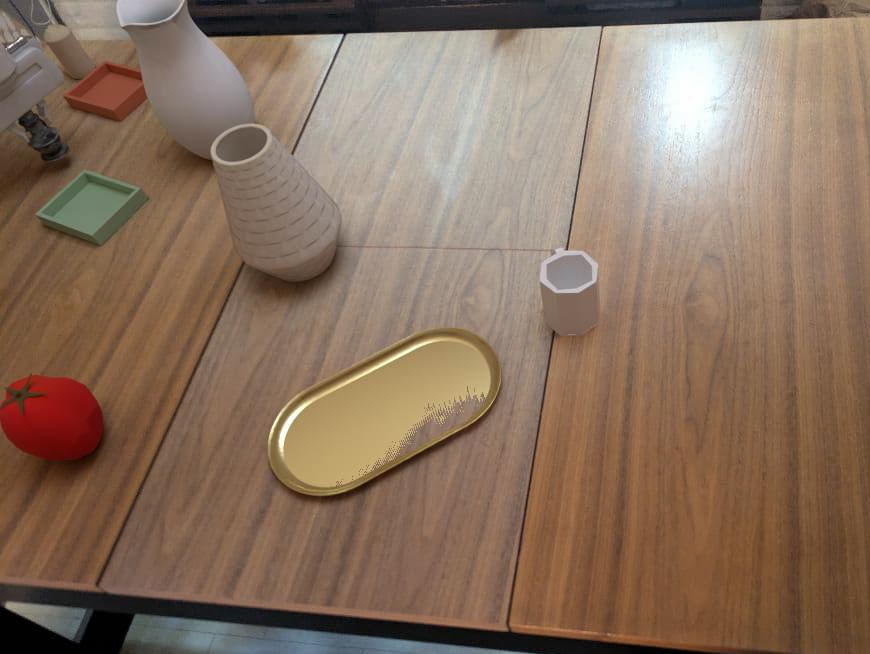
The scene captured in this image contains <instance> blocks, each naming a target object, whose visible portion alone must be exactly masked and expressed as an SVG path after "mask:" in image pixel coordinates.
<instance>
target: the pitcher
mask: <svg viewBox="0 0 870 654" xmlns="http://www.w3.org/2000/svg"><path fill="white" fill-rule="evenodd" d="M115 12H116V16H117V20H118V23H119V26H120V28H121V29H122V30H124V31H125V32H126V33H127V34H128V36H129V38H130V39H131V41H132V43H133V46H134V48H135V52H136V54H137V59H138V63H139V69H140V70H141V74H142V79H143V84H144V88H145V91H146V95H147V98H146V99H147V100H148V104H149V105H150V108H151V109H152V112H153V114H154V116H155V117H156V120H158V122H159V123H160V125H161V126H162V127H163V129H164V130H165V131H166V133H167V134H168V135H169V136H170V137H171V138H172V139H173V140H174V141H175V142H177V144H179V145H180V146H181V147H184V148H185V149H186V150H188V151H189V152H190V153H192V154H194V155H196V156H198V157H201V158H203V159H206V160H210V161H212V157H211V146H212V144H213V142H214V141H215V140H216V138H217V137H218V136H220V135H221V134H222V133H223V132H225V131H226V130H228V129H230V128H233V127H235V126H238V125H243V124H256V112H255V106H254V102H253V98H252V95H251V91H250V89H249V87H248V85H247V83H246V81H245V79H244V78H243V76H242V74H241V72H240V71H239V70H238V68H237V67H236V65H235V63H233V62H232V60H231V59H230V58H229V57H228V56H227V54H226V53H224V52H223V50H222V49H220V47H218V46H217V45H216V44H215V43H214V42H213V41H212V40H211V39H210V38H209V37H208V36H207V35H206V34H205V33H204V32H203V31H201V29H200V28H199V27H198V26H197V25H196V23H195V22H194V20H193V19H192V17H191V15H190V12H189V8H188V0H117V2H116V5H115Z"/></svg>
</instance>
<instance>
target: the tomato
mask: <svg viewBox="0 0 870 654" xmlns="http://www.w3.org/2000/svg"><path fill="white" fill-rule="evenodd" d="M4 389H5V390H6V392H5V399H4V400H2V401H1V403H0V427H1V429H2V432H4V435H5V437H6V438H7V439H8V441H10V442H11V444H12V445H14V447H16V448H17V449H18V450H20V451H21V452H23V453H25V454H28V455H31V456H35V457H38V458H41V459H45V460H51V461H68V460H69V461H70V460H78V459H81V458H82V457H84V456H87V455H89V454H91V453H92V452H93V451H94V450H95V449H96V448H97V447H98V446H99V443H100V440H101V438H102V435H103V432H104V429H105V422H104V413H103V410H102V408H101V405H100V404H99V401H98V400H97V398H96V397H95V395H94V394H93V392H92V391H91V390H90V389H89V388H88V386H87V384H84V383H82V382H80V381H78V380H76V379H75V378H70V377H64V376H63V377H59V376H58V377H50V376H47V375H41V374H33V372H31V373H30V374H29V375H28V376H25V377H23V378H21V379H17V380H15V381H12V382H11V383H10V384H9V385H8V387H4Z"/></svg>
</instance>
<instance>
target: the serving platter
mask: <svg viewBox="0 0 870 654" xmlns="http://www.w3.org/2000/svg"><path fill="white" fill-rule="evenodd" d="M502 373H503V372H502V365H501V361H500V358H499V357H498V354H497V351H496V350H495V349H494V348H493V346H492V345H491V344H490V343H489V342H488V341H487V340H486V339H485V338H483V337H482V336H480V335H478V334H477V333H475V332H472V331H471V330H468V329H465V328H460V327H456V326H455V327H454V326H437V327H431V328H426V329H423V330H420V331H417V332H414V333H412V334H410V335H408V336H407V337H404V338H402V339H400V340H398V341H397V342H394V343H392V344H391V345H389V346H387V347H385V348H383V349H381V350H379V351H377V352H375V353H372V354H371V355H369V356H367V357H365V358H363V359H361V360H360V361H357V362H355V363H353V364H351V365H349V366H348V367H345V368H344V369H341V370H339V371H338V372H336V373H334V374H332V375H330V376H328V377H326V378H324V379H322V380H320V381H318V382H316V383H315V384H313V385H310V386H308V387H307V388H305V389H304V390H302V391H301V392H299V393H298V394H296V395H295V396H294V397H292V398H291V399H290V400H289V401H288V402H287V403H286V405H284V407H282V409H281V410H280V412H279V413H278V415H276V418H275V420H274V422H273V424H272V426H271V428H270V430H269V431H270V432H269V435H268V440H267V457H268V462H269V464H270V467H271V469H272V471H273V473H274V475H275V476H276V477H277V478H278V480H279V481H280V482H281V483H283V485H285V486H286V487H287V488H289V489H291V490H292V491H295V492H296V493H299V494H302V495H305V496H312V497H331V496H332V497H333V496H337V495H341V494H344V493H348V492H350V491H353V490H355V489H357V488H359V487H361V486H362V485H365V484H366V483H368V482H370V481H372V480H373V479H374V480H375V478H377V477H379V476H381V475H382V474H384V473H387V472H388V471H390V470H392V469H394V468H395V467H398V466H399V465H401V464H403V463H404V462H406V461H408V460H410V459H412V458H414V457H415V456H417V455H419V454H421V453H423V452H424V451H426V450H428V449H430V448H432V447H433V446H435V445H438V444H439V443H441V442H443V441H445V440H446V439H448V438H450V437H452V436H453V435H455V434H458V433H459V432H461V431H463V430H465V429H467V428H469V427H470V426H471V425H473V424H475V423H476V422H477V421H479V420H480V419H481V418H482V417H483V416H484V415H485V414H486V413H487V412H488V411H489V410H490V408H491V407H492V405H493V404H494V402H495V400H496V398H497V397H498V394H499V391H500V389H501V384H502V378H503V377H502V375H503V374H502ZM467 386H468V391H469V394H470V397H471V399H473V396H474V395H477V398H478V400H479V402H480V398H481V399H482V397H480V396H481V394H482V392H483V394H484V397H485V402H484V405H482V407H480V409H478V411H477V413H475V415H474V416H472V417H470V419H468V420H467V421H465V422H463V423H461V424H460V425H459V426H457V427H455V428H453V429H451V430H450V429H449V431H448V430H447V432H445V433H444V434H442V435H440V436H438V437H436V438H434V439H433V440H431V441H429V442H428V443H425V444H423V445H421V447H419V448H417V447H416V449H414V450H412V451H409V452H408V454H405V455H403V456H400V457H398V458H395V460H394V457H395V455H396V453H397V450H398V448H399V446H400V447H401V445H402V442H403V440H404V442H405V439H406V436H407V438H408V435H409V437H410V434H411V432H412V434H413V431H414V427H415V430H416V426H417V428H418V425H419V422H420V424H421V420H422V423H423V419H424V421H425V417H426V420H427V416H428V418H429V414H430V417H431V413H432V415H433V417H434V414H433V411H434V413H435V416H436V411H437V414H438V409H439V412H440V414H441V411H440V407H441V410H442V412H443V408H444V410H445V413H446V408H447V411H448V413H449V410H448V406H449V408H450V411H451V406H452V408H453V403H454V397H455V400H456V403H457V402H459V403H460V405H461V402H460V399H459V397H460V396H461V399H462V402H463V401H464V400H465V402H466V395H467V398H468V395H469V394H468V392H467ZM474 388H475V392H474ZM459 395H460V396H459ZM449 400H450V403H451V404H449ZM475 400H476V399H475ZM490 400H491V401H490ZM468 401H469V400H468ZM482 401H483V399H482ZM444 402H445V405H446V408H445V405H444ZM428 403H429V407H430V410H431V411H430V410H429V408H428ZM433 403H434V406H435V408H434V407H433ZM439 404H440V406H439ZM454 406H455V403H454ZM477 406H478V405H477ZM424 407H425V409H424ZM431 407H432V408H433V410H432V408H431ZM426 408H427V409H428V411H427V409H426ZM461 408H462V407H461ZM435 409H436V411H435ZM459 410H460V409H459ZM425 411H426V412H425ZM453 411H454V409H453ZM460 412H461V410H460ZM463 412H464V411H463ZM426 413H427V414H426ZM451 413H452V411H451ZM454 413H455V412H454ZM457 413H458V412H457ZM424 415H425V416H424ZM443 415H444V413H443ZM446 415H447V414H446ZM449 415H450V414H449ZM422 416H423V417H422ZM438 416H439V414H438ZM441 417H442V418H441ZM441 417H440V416H439V418H440V421H441V423H442V419H443V421H444V417H445V415H444V417H443V416H442V415H441ZM447 417H448V416H447ZM436 418H437V420H438V417H437V416H436ZM431 419H432V417H431ZM445 419H446V417H445ZM434 420H435V417H434ZM429 421H430V419H429ZM427 422H428V420H427ZM435 422H436V421H435ZM438 422H439V420H438ZM417 423H418V425H417ZM425 423H426V422H425ZM444 423H445V422H444ZM415 424H416V426H415ZM436 424H437V423H436ZM439 424H440V423H439ZM442 424H443V423H442ZM413 425H414V426H413ZM423 425H424V423H423ZM421 426H422V424H421ZM440 426H441V425H440ZM419 427H420V425H419ZM412 428H413V431H412ZM410 429H411V431H410ZM408 430H409V431H408ZM409 432H410V433H409ZM416 432H417V431H416ZM407 433H408V435H407ZM414 433H415V431H414ZM405 434H406V435H405ZM412 434H411V436H412ZM413 435H414V434H413ZM404 437H405V439H404ZM410 439H411V438H410ZM401 440H402V442H401ZM408 440H409V438H408ZM392 441H393V442H392ZM399 441H400V442H399ZM406 441H407V439H406ZM395 442H396V443H395ZM404 442H403V444H404ZM409 442H410V441H409ZM400 443H401V445H400ZM405 443H406V442H405ZM407 443H408V442H407ZM408 444H409V443H408ZM410 444H411V443H410ZM394 445H395V446H394ZM390 446H391V447H390ZM397 446H398V447H397ZM404 446H405V445H404ZM393 447H394V448H393ZM402 447H403V445H402ZM389 448H390V450H391V451H390V450H389ZM391 448H392V449H391ZM394 449H395V450H394ZM396 449H397V450H396ZM401 449H402V448H401ZM392 450H393V451H394V452H393V451H392ZM399 450H400V448H399ZM399 450H398V452H399ZM386 451H387V452H386ZM388 451H389V452H390V454H391V452H392V454H393V455H394V453H395V455H394V457H393V455H392V454H391V456H392V457H393V459H392V458H391V456H390V454H389V453H388ZM395 451H396V452H395ZM385 453H386V454H385ZM387 453H388V455H389V456H390V458H391V459H390V458H389V457H388V455H387ZM397 454H398V453H397ZM399 454H400V453H399ZM386 455H387V457H388V458H389V460H390V462H389V460H388V459H387V457H386ZM396 456H397V455H396ZM385 457H386V459H387V460H388V464H387V463H386V464H385V465H384V463H385V462H384V463H383V461H384V459H385ZM379 458H380V459H379ZM383 458H384V459H383ZM386 459H385V461H386ZM378 460H379V462H380V464H381V465H382V463H383V465H382V466H380V465H379V466H380V468H379V466H378V465H377V466H378V468H377V466H376V464H377V462H378ZM380 460H381V461H380ZM382 460H383V461H382ZM391 460H392V461H391ZM376 461H377V462H376ZM379 462H378V464H379ZM381 462H382V463H381ZM375 463H376V464H375ZM366 465H367V466H366ZM368 465H369V466H368ZM374 465H375V466H376V468H377V469H375V471H374V468H375V466H374ZM373 466H374V468H373ZM367 467H368V468H367ZM372 468H373V469H372ZM360 469H361V470H360ZM362 469H363V470H362ZM366 469H367V470H366ZM371 470H372V471H371ZM359 471H360V472H359ZM365 471H366V472H367V473H366V472H365ZM364 472H365V473H364ZM359 474H360V475H359ZM363 474H364V475H363ZM365 474H366V475H365ZM352 476H353V477H352ZM342 479H343V480H342ZM352 479H353V480H352ZM337 481H338V482H339V484H340V485H339V484H338V482H337ZM341 481H342V482H341ZM351 481H352V482H351ZM336 482H337V483H336ZM340 482H341V483H340ZM337 484H338V485H339V486H338V485H337ZM341 484H342V486H341ZM336 485H337V487H336ZM331 486H332V487H331Z"/></svg>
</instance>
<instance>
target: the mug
mask: <svg viewBox="0 0 870 654" xmlns="http://www.w3.org/2000/svg"><path fill="white" fill-rule="evenodd" d="M599 273H600V272H599V264H598V263H597V261H596V260H594V259H593V258H592V257H591V256H590V255H588V253H586V252H585V251H584V250H565V247H557V248H555V249H552V250H550V257H548V258H546V259H545V260H544V261H542V262H541V267H540V275H539V287H540V294H541V300H542V301H541V302H542V308H543V316H544V323H545V325H546V326H548V327H549V328H550V329H552V331H554V332H555V333H557V334H558V335H559V336H560V337H563V336H566V337H571V336H573V337H576V336H578V337H579V336H581V337H582V336H583V335H585V334H587V333H588V332H590V331H591V330H593V329H594V328H596V327H598V326H599V319H600V310H601V307H600V306H601V303H600V302H601V301H600V276H599ZM599 308H600V310H599ZM598 318H599V319H598ZM597 323H598V324H597ZM596 324H597V325H596ZM594 325H596V326H594ZM593 326H594V327H593ZM591 327H592V328H591ZM590 328H591V329H590ZM588 329H589V330H588ZM587 330H588V331H587ZM584 332H585V333H584ZM582 333H583V334H582ZM568 334H576V335H568Z"/></svg>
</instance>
